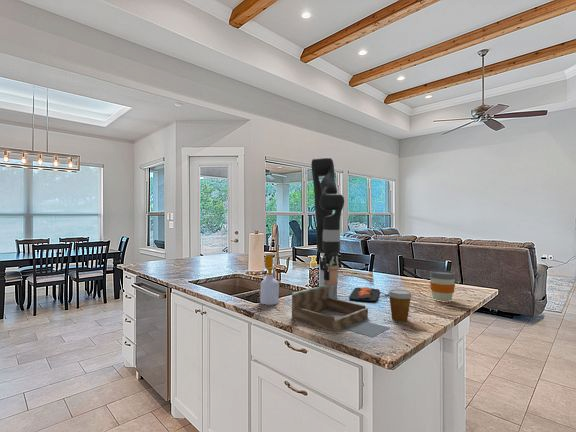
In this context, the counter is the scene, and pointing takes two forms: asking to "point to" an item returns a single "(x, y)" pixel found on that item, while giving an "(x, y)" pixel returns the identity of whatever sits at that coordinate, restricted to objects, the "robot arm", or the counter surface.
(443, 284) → the reusable coffee cup
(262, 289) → the soap bottle
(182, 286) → the counter surface
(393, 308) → the disposable coffee cup
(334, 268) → the terracotta pot
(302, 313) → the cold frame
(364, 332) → the slate mat
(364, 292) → the sushi plate
